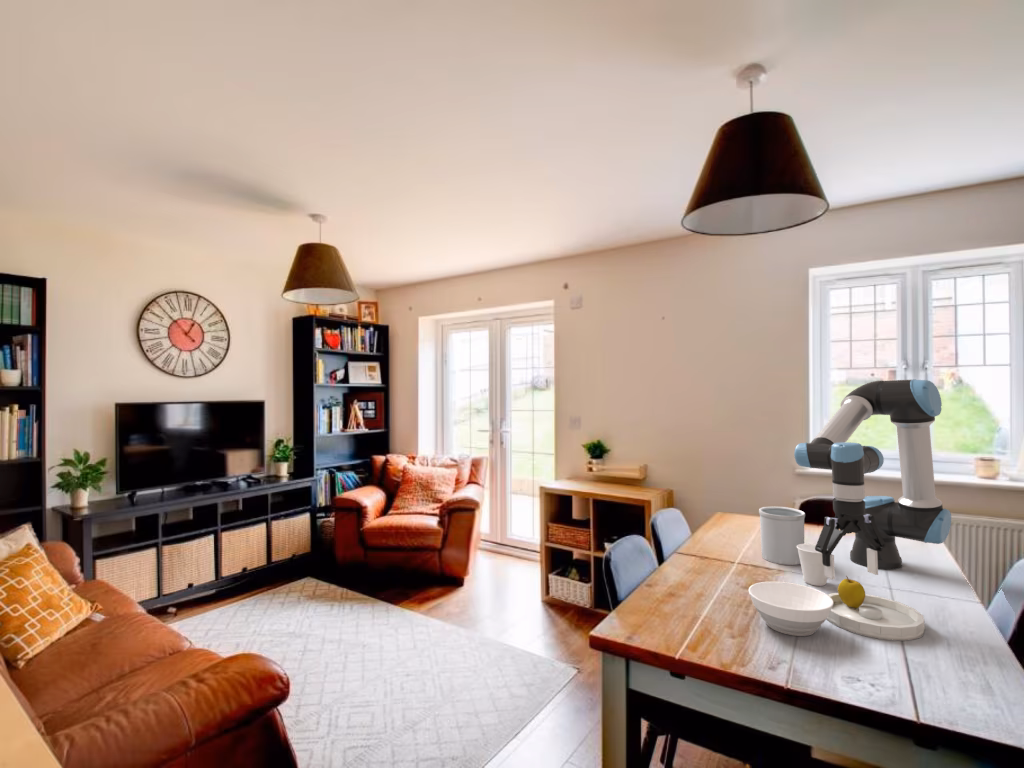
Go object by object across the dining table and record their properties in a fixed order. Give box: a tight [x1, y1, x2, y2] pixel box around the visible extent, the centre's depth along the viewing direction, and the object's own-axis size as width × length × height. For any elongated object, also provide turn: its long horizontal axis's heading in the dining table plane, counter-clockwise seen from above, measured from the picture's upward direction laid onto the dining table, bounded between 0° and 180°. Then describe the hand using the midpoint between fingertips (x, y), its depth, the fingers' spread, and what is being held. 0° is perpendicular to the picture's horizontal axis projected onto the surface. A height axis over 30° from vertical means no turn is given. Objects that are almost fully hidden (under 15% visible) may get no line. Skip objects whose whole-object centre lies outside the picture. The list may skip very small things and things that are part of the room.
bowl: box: [748, 581, 833, 637], centre depth 134 cm, size 19×19×8 cm
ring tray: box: [825, 592, 926, 642], centre depth 137 cm, size 22×22×3 cm
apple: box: [837, 575, 866, 608], centre depth 144 cm, size 6×6×8 cm
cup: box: [797, 543, 828, 587], centre depth 165 cm, size 10×10×11 cm
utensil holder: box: [758, 506, 806, 566], centre depth 189 cm, size 15×15×18 cm
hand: (851, 575), depth 144 cm, fingers open, 13 cm apart
